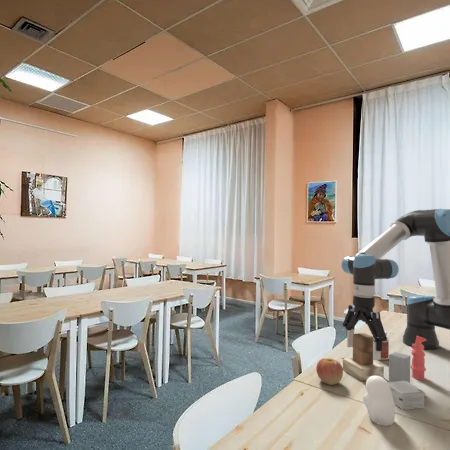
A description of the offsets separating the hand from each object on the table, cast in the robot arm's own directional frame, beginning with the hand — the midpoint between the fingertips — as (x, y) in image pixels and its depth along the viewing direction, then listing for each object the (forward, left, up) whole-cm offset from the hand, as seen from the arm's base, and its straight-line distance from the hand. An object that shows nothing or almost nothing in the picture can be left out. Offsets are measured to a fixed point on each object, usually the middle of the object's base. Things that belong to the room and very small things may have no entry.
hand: (362, 352), depth 125 cm
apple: (+17, +3, -8) cm, 19 cm away
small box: (+3, +21, -8) cm, 23 cm away
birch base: (0, 0, -8) cm, 8 cm away
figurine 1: (+18, +27, -8) cm, 33 cm away
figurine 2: (-18, +8, -8) cm, 21 cm away
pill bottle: (-19, -11, -8) cm, 23 cm away
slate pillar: (-6, +11, -8) cm, 15 cm away
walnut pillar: (0, 0, -4) cm, 4 cm away
